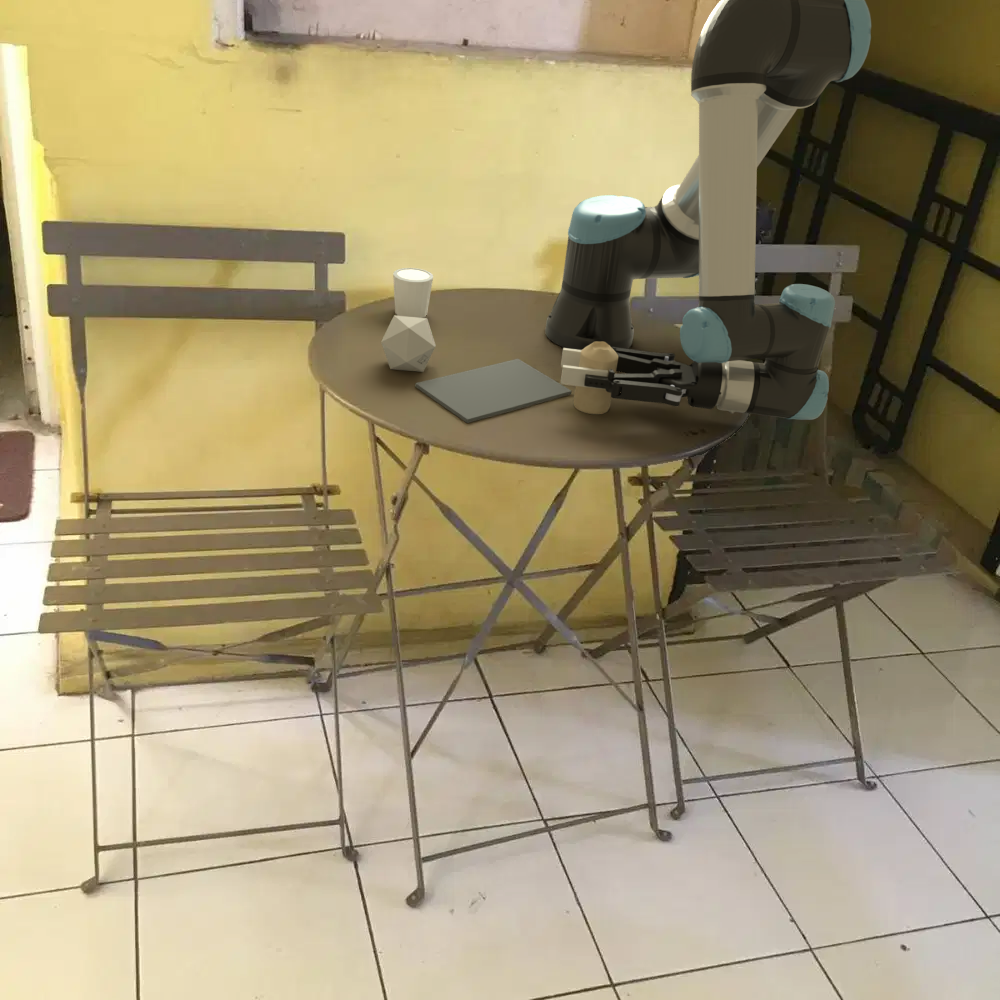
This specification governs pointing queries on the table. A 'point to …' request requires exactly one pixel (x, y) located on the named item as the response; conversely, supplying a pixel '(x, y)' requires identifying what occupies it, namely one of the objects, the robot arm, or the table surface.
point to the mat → (492, 390)
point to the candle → (594, 398)
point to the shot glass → (412, 292)
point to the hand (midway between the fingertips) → (562, 365)
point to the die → (408, 343)
